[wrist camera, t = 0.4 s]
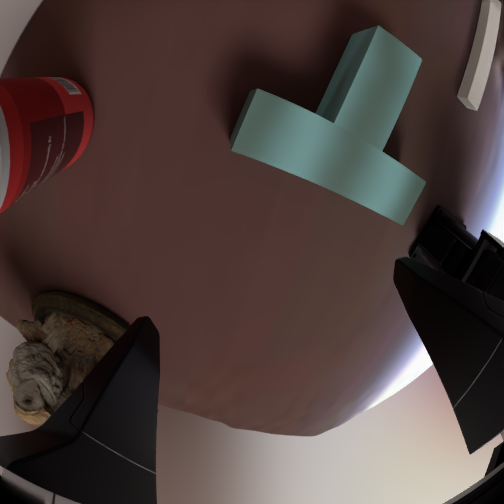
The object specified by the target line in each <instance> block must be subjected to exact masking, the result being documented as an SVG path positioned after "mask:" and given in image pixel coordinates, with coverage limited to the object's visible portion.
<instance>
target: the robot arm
mask: <svg viewBox="0 0 504 504" xmlns="http://www.w3.org/2000/svg"><path fill="white" fill-rule="evenodd" d="M409 257H410V258H408V257H402V258H398V259H396V261H395V267H394V276H393V280H394V283H395V286H396V288H397V290H398V292H399V295H400V297H401V299H402V302H403V304H404V306H405V309H406V311H407V313H408V315H409V317H410V319H411V321H412V323H413V325H414V327H415V329H416V331H417V332H418V334H419V336H420V338H421V340H422V342H423V344H424V346H425V348H426V350H427V352H428V354H429V356H430V358H431V360H432V362H433V364H434V366H435V368H436V370H437V372H438V375H439V377H440V379H441V381H442V384H443V386H444V388H445V390H446V392H447V395H448V397H449V399H450V402H451V404H452V407H453V410H454V412H455V415H456V417H457V420H458V423H459V425H460V428H461V431H462V434H463V436H464V439H465V442H466V445H467V448H468V451H469V454H472V453H474V452H475V451H476V450H478V449H480V448H481V447H483V446H484V445H485V444H487V443H488V442H489V441H491V440H492V439H494V438H495V437H496V436H498V435H499V434H500V433H501V436H502V438H503V440H504V243H503V242H502V241H501V240H500V239H498V238H496V237H495V236H493V235H492V234H490V233H488V232H487V231H485V230H483V229H482V232H481V236H480V238H479V240H478V239H477V238H476V237H474V236H473V235H472V234H471V233H469V232H468V231H467V230H466V226H465V225H464V224H463V223H462V222H461V221H459V220H458V219H457V218H456V217H454V216H453V215H452V214H451V213H449V212H448V211H447V210H446V209H444V208H443V207H442V206H437V208H436V209H435V211H434V213H433V215H432V216H431V218H430V220H429V222H428V224H427V225H426V227H425V229H424V230H423V232H422V234H421V235H420V237H419V239H418V240H417V242H416V244H415V245H414V247H413V248H412V250H411V252H410V253H409ZM159 379H160V337H159V332H158V330H157V329H156V327H155V325H154V324H153V322H152V321H151V319H150V318H149V317H148V316H144V317H139V318H137V319H136V320H135V321H134V322H133V323H132V325H131V326H130V327H129V328H128V329H127V330H126V331H125V332H124V333H123V335H122V336H121V337H120V338H119V339H118V340H117V341H116V342H115V344H114V345H113V346H112V347H111V348H110V349H109V350H108V352H107V353H106V354H105V355H104V356H103V357H102V359H101V360H100V361H99V362H98V363H97V364H96V365H95V367H94V368H93V369H92V370H91V371H90V372H89V374H88V375H87V376H86V377H85V378H84V380H83V382H81V383H80V384H79V386H78V387H77V388H76V389H75V390H74V391H73V393H72V394H71V395H70V396H69V397H68V398H67V399H66V400H65V401H64V403H63V404H62V405H61V406H60V407H59V408H58V409H57V410H56V411H55V412H54V413H53V414H52V415H51V416H50V417H49V418H48V419H47V420H46V421H45V422H44V424H42V425H41V426H40V427H39V428H37V429H35V430H33V431H30V432H25V433H19V434H14V435H7V436H0V466H2V467H3V468H4V469H3V473H2V476H1V475H0V504H157V496H156V474H155V473H156V430H157V407H158V393H159ZM443 504H504V441H503V442H502V443H501V444H499V445H498V446H497V447H495V448H494V451H493V454H492V457H491V460H490V463H489V465H488V468H487V471H486V473H485V477H484V478H483V479H481V480H480V481H478V482H477V483H475V484H474V485H473V486H471V487H470V488H468V489H467V490H465V491H463V492H462V493H460V494H459V495H457V496H455V497H454V498H452V499H450V500H449V501H447V502H445V503H443Z"/></svg>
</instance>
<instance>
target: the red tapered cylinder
mask: <svg viewBox="0 0 504 504" xmlns="http://www.w3.org/2000/svg"><path fill="white" fill-rule="evenodd" d="M93 128H94V108H93V105H92V101H91V99H90V97H89V95H88V93H87V92H86V91H85V90H84V88H82V87H81V86H80V85H79V84H77V83H76V82H75V81H73V80H70V79H68V78H62V77H24V78H7V79H0V213H1V212H3V211H4V210H5V209H7V208H8V207H9V206H11V205H12V204H13V203H14V202H16V201H17V200H19V199H20V198H21V197H23V196H24V195H25V194H27V193H28V192H30V191H31V190H32V189H34V188H35V187H37V186H38V185H40V184H41V183H43V182H44V181H46V180H47V179H49V178H50V177H52V176H54V175H55V174H57V173H58V172H60V171H62V170H63V169H65V168H67V167H68V166H70V165H71V164H72V163H74V162H75V161H76V160H77V159H78V158H79V157H80V156H81V154H82V153H83V151H84V149H85V148H86V146H87V145H88V143H89V140H90V138H91V136H92V132H93Z"/></svg>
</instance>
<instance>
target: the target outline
mask: <svg viewBox="0 0 504 504" xmlns="http://www.w3.org/2000/svg"><path fill="white" fill-rule="evenodd" d="M500 12H501V3H500V2H499V0H482V4H481V10H480V15H479V20H478V25H477V29H476V34H475V38H474V42H473V46H472V50H471V53H470V57H469V60H468V64H467V67H466V70H465V74H464V77H463V80H462V83H461V86H460V89H459V92H458V94H457V98H458V99H459V100H460V101H461V102H462V103H463V104H464V105H465V106H466V108H468V109H472V110H476V111H478V108H479V105H480V102H481V99H482V96H483V92H484V89H485V86H486V82H487V79H488V75H489V71H490V67H491V63H492V59H493V54H494V50H495V45H496V39H497V34H498V27H499V20H500Z"/></svg>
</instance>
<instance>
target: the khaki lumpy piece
mask: <svg viewBox="0 0 504 504" xmlns="http://www.w3.org/2000/svg"><path fill="white" fill-rule="evenodd" d="M46 292H47V291H43V292H41V293H39V294H38V295H37V297H36V298H35V299H34V300H33V304H32V314H33V317H34V322H29V321H27V320H20V321H19V322H18V323H17V328H18V330H19V331H20V333H21V334H22V335H23V337H24V338H25V339H26V340H27V342H24V343H22V344H21V345H19V346H18V347H16V349H15V350H14V352H13V359H11V361H10V363H9V370H8V372H7V373H6V376H7V380H8V382H9V384H10V386H11V387H12V391H13V398H14V409H15V411H16V413H17V414H18V415H19V416H20V417H21V418H22V419H23V420H24V421H25V422H27V423H31V424H33V425H38V426H41V425H42V424H44V422H45V421H46V420H47V419H48V418H49V417H50V416H51V415H52V414H53V413H54V412H55V411H56V410H57V409H58V408H59V407H60V406H61V405H62V404H63V403H64V401H65V400H66V399H67V398H68V397H69V396H70V395H71V394H72V393H73V391H74V390H75V389H76V388H77V387H78V386H79V384H80V383H81V382H83V380H84V378H85V377H86V376H87V375H88V374H89V372H90V371H91V370H92V369H93V368H94V367H95V365H96V364H97V363H98V362H99V361H100V360H101V359H102V357H103V356H104V355H105V354H106V353H107V352H108V350H109V349H110V348H111V347H112V346H113V345H114V344H115V342H116V341H117V340H118V339H119V338H120V337H121V336H122V335H123V333H124V332H125V331H126V330H127V329H128V328H129V327H130V326H129V325H128V324H127V323H126V322H125V321H124V320H122V319H120V318H119V317H117V316H116V315H114V314H112V313H111V312H109V311H108V310H106V309H104V308H103V307H101V306H99V305H97V304H95V303H93V302H91V301H89V300H86V299H84V298H82V297H80V296H77V295H74V294H71V293H67V292H62V291H56V290H55V291H52V292H51V291H50V292H49V293H46ZM157 413H158V409H157Z"/></svg>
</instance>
